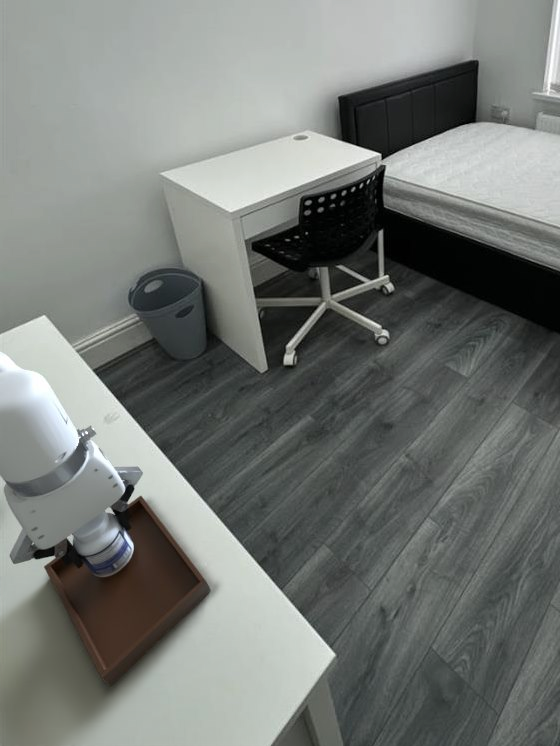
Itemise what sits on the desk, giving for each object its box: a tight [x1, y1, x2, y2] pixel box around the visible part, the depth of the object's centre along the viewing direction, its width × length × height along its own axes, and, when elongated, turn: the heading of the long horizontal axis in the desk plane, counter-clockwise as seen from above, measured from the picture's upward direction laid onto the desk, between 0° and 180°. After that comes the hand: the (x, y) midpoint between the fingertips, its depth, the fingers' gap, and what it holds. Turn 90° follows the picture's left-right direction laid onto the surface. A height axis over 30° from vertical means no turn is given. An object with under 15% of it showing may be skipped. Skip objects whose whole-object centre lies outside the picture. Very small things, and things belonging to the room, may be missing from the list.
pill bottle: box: [71, 510, 134, 577], centre depth 66 cm, size 5×5×10 cm
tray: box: [43, 495, 212, 687], centre depth 66 cm, size 19×13×3 cm
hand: (101, 540), depth 66 cm, fingers closed on pill bottle, 5 cm apart
